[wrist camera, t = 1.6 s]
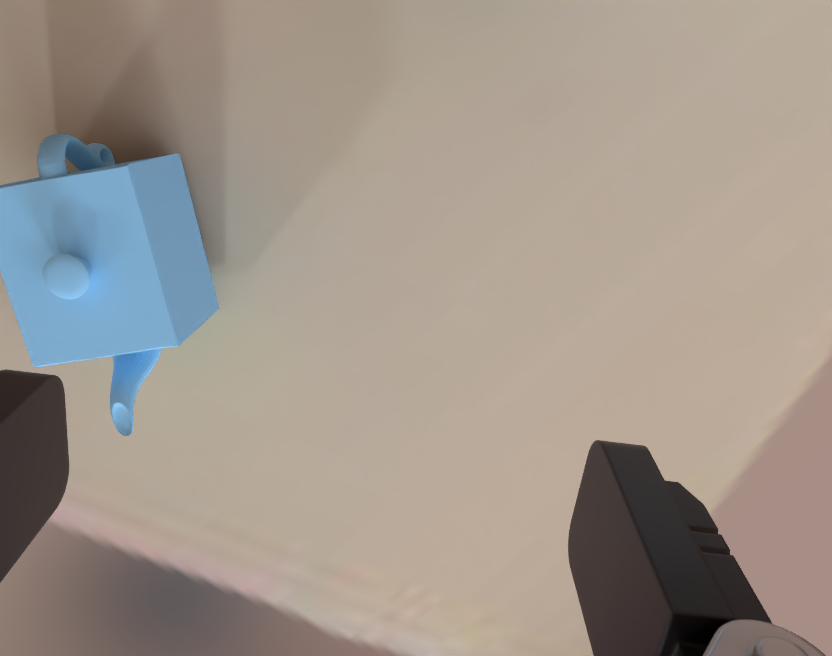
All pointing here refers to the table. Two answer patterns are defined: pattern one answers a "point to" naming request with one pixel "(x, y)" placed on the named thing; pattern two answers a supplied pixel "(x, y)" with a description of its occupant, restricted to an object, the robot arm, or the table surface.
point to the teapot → (104, 262)
